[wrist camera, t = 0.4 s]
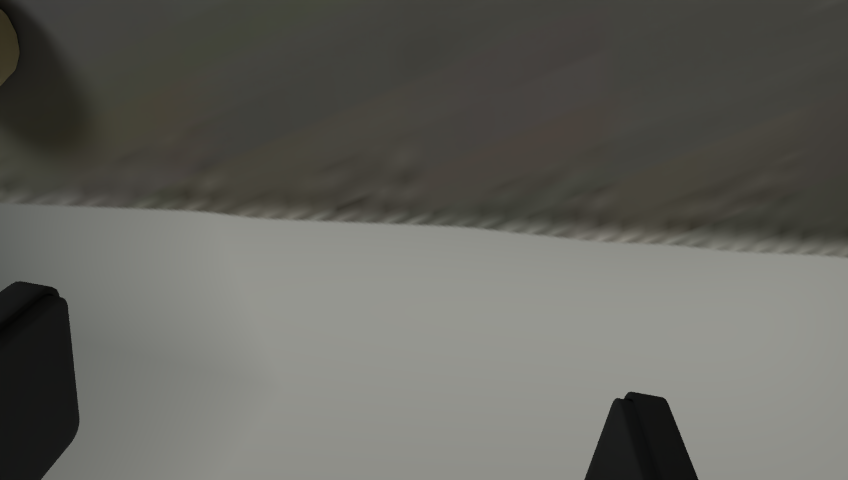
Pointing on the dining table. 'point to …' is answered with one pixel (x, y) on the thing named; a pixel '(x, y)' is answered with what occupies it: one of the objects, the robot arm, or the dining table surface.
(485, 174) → the dining table surface
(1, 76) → the squeeze bottle
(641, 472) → the robot arm
